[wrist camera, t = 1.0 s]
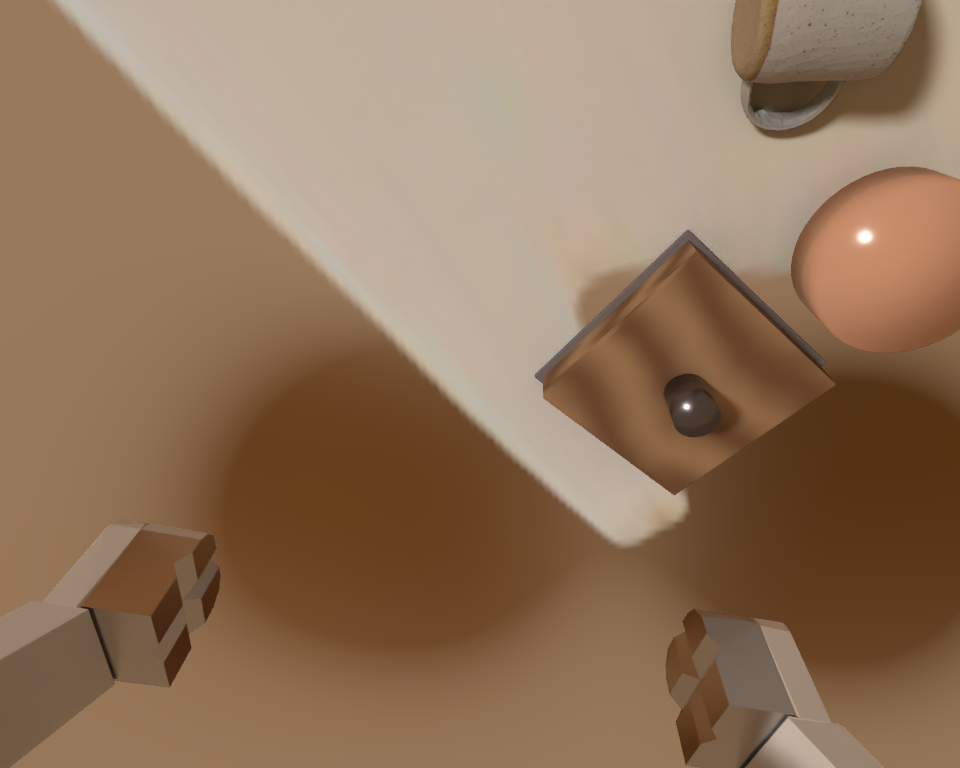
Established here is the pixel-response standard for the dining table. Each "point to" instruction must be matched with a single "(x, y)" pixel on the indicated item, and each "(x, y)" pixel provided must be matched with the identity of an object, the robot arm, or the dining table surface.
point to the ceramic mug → (815, 47)
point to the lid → (684, 373)
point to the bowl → (884, 260)
